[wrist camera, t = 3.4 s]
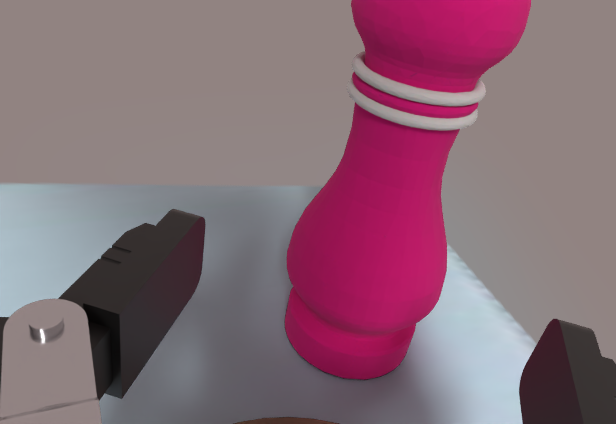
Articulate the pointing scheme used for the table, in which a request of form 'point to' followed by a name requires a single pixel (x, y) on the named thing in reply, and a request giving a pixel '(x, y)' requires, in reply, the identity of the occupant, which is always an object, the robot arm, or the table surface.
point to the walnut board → (285, 421)
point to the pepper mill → (391, 181)
